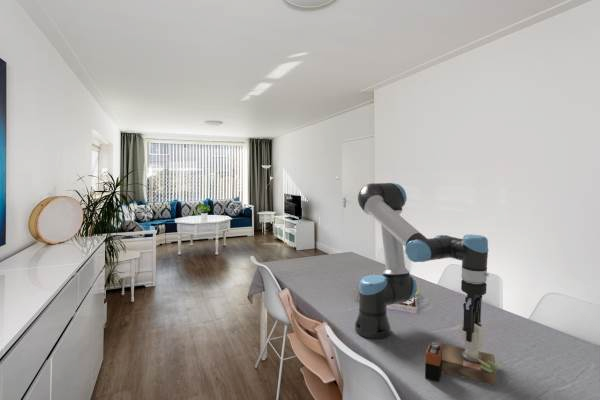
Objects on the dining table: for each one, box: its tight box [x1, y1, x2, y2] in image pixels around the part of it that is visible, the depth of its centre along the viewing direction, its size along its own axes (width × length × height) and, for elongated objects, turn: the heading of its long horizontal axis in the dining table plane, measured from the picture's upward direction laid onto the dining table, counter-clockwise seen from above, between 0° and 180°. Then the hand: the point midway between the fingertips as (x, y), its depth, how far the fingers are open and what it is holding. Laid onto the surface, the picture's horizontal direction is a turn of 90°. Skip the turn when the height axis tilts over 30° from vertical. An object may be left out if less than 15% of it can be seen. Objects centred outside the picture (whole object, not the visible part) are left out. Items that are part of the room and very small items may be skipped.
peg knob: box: [461, 319, 490, 368], centre depth 108 cm, size 6×10×12 cm, turn 18°
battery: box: [424, 342, 443, 383], centre depth 106 cm, size 4×7×10 cm, turn 149°
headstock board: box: [431, 341, 501, 386], centre depth 111 cm, size 21×13×4 cm, turn 62°
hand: (471, 346), depth 110 cm, fingers closed on peg knob, 4 cm apart
